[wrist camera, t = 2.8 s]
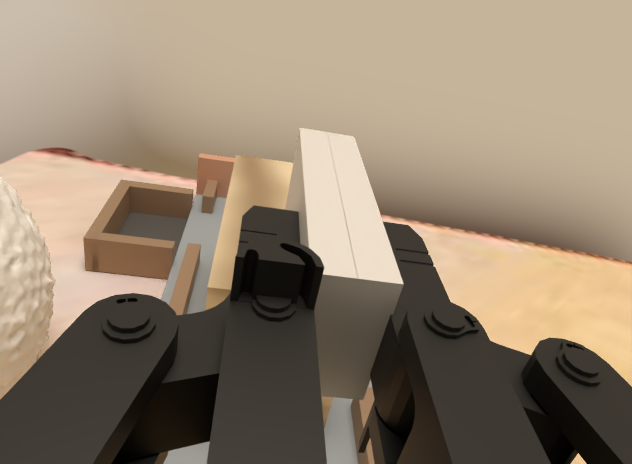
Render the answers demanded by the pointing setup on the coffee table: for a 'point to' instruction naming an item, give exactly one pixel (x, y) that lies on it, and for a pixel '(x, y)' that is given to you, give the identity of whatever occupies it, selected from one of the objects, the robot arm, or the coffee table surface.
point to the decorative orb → (21, 289)
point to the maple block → (244, 191)
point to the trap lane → (194, 274)
